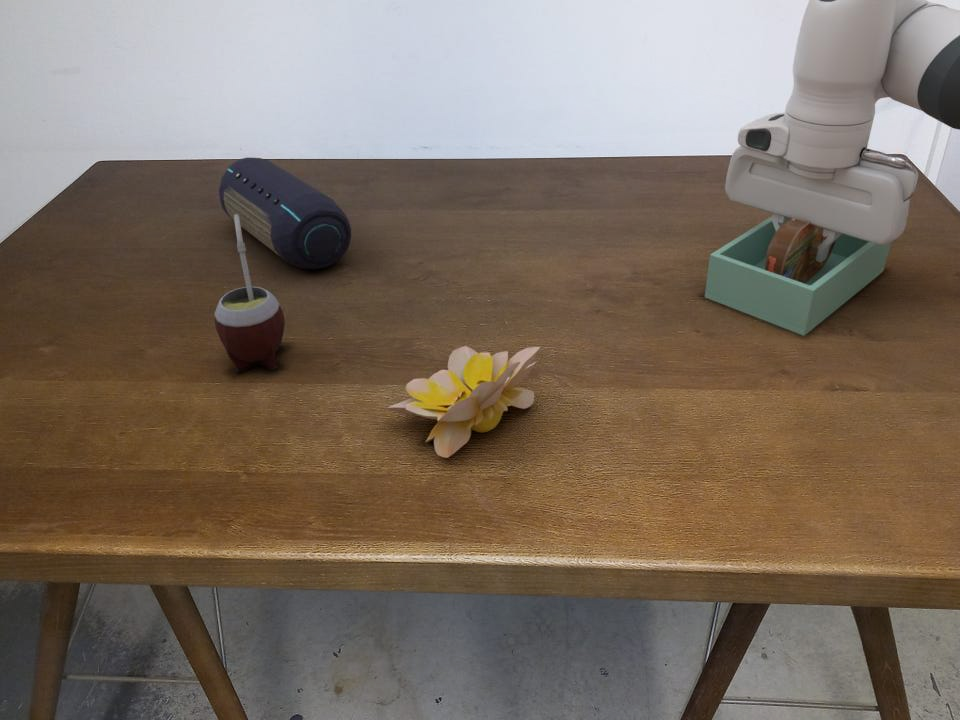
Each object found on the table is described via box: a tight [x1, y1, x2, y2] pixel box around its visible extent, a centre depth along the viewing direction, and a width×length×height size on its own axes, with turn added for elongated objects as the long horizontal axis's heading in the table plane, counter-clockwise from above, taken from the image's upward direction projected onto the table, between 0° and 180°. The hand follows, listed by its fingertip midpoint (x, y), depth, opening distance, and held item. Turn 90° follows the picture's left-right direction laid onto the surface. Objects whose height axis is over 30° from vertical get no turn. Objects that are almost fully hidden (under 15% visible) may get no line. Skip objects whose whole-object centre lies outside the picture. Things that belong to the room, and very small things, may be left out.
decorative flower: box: [383, 345, 541, 458], centre depth 77 cm, size 15×11×10 cm
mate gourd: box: [214, 214, 286, 375], centre depth 86 cm, size 8×8×15 cm
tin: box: [765, 218, 836, 284], centre depth 95 cm, size 15×3×8 cm, turn 137°
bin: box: [704, 215, 892, 336], centre depth 96 cm, size 20×13×6 cm, turn 134°
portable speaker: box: [218, 157, 352, 270], centre depth 110 cm, size 25×10×10 cm, turn 37°
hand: (800, 253), depth 96 cm, fingers closed on tin, 2 cm apart
